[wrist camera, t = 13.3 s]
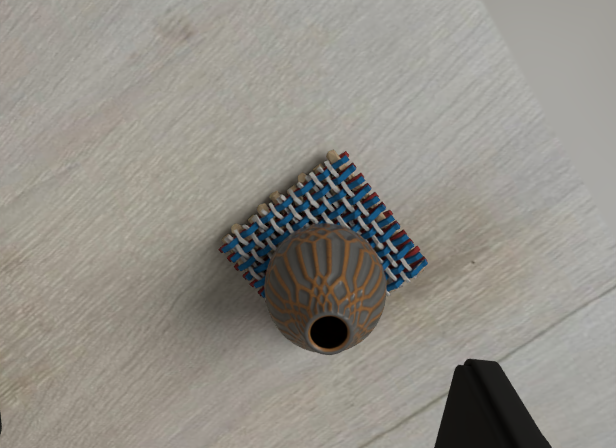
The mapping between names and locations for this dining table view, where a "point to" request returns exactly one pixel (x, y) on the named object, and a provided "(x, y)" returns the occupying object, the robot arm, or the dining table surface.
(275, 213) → the woven mat
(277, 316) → the vase
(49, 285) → the dining table surface
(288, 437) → the dining table surface
